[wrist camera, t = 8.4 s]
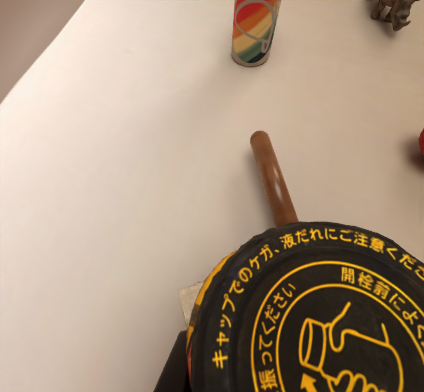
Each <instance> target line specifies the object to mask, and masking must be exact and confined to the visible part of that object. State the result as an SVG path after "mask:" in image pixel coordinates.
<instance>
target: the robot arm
mask: <svg viewBox="0 0 424 392" xmlns="http://www.w3.org/2000/svg"><path fill="white" fill-rule="evenodd" d="M186 334H187V330H184V331H181V332H180V333H179V335H178V337H177V339H176V342H175V344H174V346H173V348H172V351H171V353H170V355H169V357H168V360H167V362H166V364H165V366H164V369H163V371H162V373H161V376H160V378H159V380H158V382H157V385H156V387H155V389H154V391H153V392H192V389H191V385H190V380H189V372H188V362H187V353H186V345H187V336H186Z"/></svg>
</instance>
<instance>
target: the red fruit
mask: <svg viewBox="0 0 424 392" xmlns="http://www.w3.org/2000/svg"><path fill="white" fill-rule="evenodd" d="M419 144H420V149H421V152H422V153H423V154H424V129H423V131H422V132H421V134H420V137H419Z"/></svg>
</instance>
